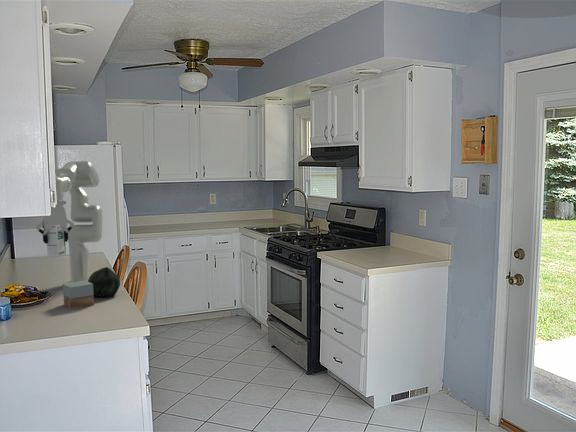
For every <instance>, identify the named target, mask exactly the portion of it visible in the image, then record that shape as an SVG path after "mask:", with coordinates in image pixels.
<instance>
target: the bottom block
mask: <svg viewBox="0 0 576 432" xmlns="http://www.w3.org/2000/svg"><path fill="white" fill-rule="evenodd" d="M94 299H95V297H94V295H90V296H84V297H78V298H72V299H70V298H68V297H67V296H65V295H63V305H64V307H65V306H66V308H69V309H70V310H73V309H74V310H75V309H80V308H85V307H86V306H87V307H92V306H95V301H94ZM91 305H92V306H91Z"/></svg>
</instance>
